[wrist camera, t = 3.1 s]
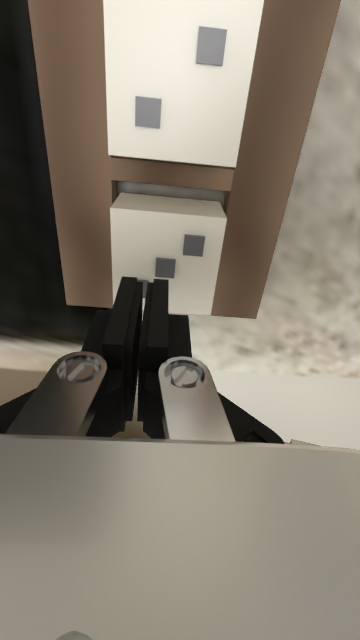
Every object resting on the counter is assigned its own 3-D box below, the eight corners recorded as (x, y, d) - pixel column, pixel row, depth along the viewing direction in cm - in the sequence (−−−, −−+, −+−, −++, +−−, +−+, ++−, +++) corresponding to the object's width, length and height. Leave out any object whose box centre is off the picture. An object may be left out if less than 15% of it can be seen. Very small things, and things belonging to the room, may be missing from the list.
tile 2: (248, 14, 12) (267, -13, 10) (226, 158, 15) (236, 168, 12) (118, -2, 12) (100, -34, 9) (120, 147, 15) (107, 155, 12)
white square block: (219, 201, 16) (227, 219, 13) (206, 288, 19) (210, 317, 16) (120, 192, 16) (109, 208, 13) (122, 281, 19) (112, 310, 16)
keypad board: (427, -393, 9) (468, -477, 8) (251, 306, 22) (255, 318, 20) (-13, -480, 8) (-48, -587, 7) (73, 293, 21) (66, 304, 20)
